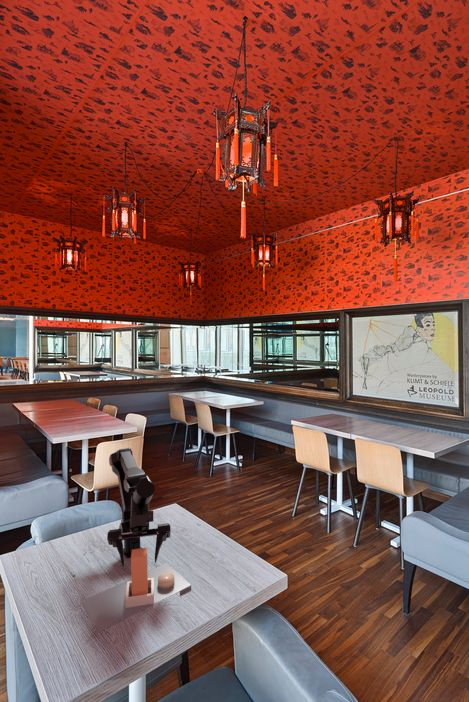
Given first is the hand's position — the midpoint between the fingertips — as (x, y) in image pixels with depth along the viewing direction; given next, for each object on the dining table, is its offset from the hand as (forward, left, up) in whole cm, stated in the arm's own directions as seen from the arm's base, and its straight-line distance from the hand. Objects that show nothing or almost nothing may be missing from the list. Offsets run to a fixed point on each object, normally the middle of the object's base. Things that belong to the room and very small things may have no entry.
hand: (139, 564), depth 110 cm
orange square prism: (+1, -1, -9) cm, 9 cm away
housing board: (-1, -1, -10) cm, 10 cm away
